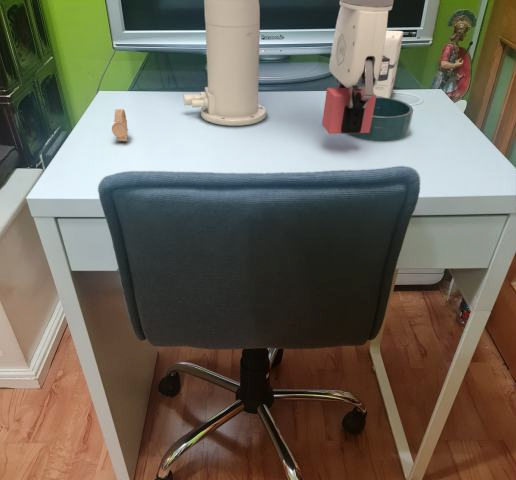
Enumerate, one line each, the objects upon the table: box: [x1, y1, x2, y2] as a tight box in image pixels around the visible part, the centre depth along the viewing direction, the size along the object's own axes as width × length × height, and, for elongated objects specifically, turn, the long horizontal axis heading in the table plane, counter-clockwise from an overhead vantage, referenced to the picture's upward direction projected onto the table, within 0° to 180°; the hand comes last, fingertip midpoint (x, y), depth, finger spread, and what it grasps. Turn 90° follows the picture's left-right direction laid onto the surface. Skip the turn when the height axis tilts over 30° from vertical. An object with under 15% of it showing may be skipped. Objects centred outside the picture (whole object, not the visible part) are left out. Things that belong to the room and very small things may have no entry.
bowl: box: [347, 97, 414, 142], centre depth 94 cm, size 12×12×4 cm
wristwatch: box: [111, 108, 129, 142], centre depth 86 cm, size 3×5×5 cm, turn 4°
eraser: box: [321, 87, 376, 135], centre depth 82 cm, size 7×4×6 cm, turn 102°
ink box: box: [373, 29, 404, 98], centre depth 107 cm, size 8×5×12 cm, turn 162°
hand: (345, 125), depth 84 cm, fingers closed on eraser, 4 cm apart
